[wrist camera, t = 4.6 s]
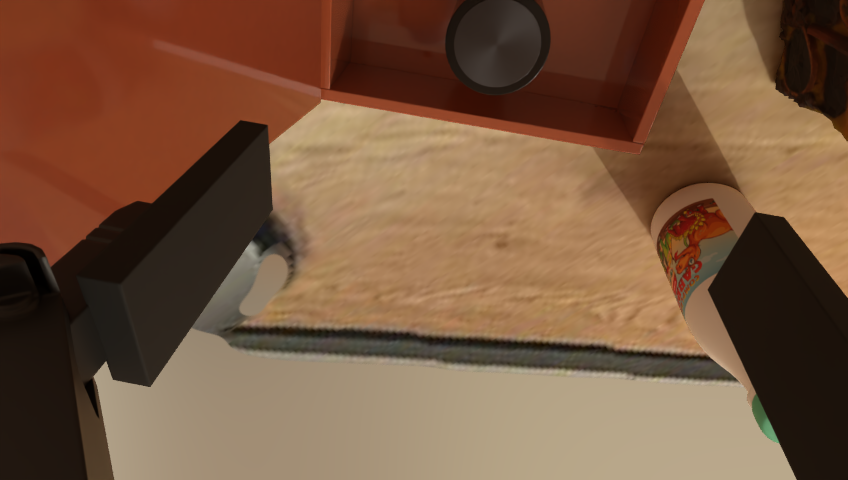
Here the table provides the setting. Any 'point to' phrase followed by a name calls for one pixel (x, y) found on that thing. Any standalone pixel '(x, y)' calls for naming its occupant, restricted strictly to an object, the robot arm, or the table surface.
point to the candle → (816, 58)
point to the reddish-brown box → (540, 99)
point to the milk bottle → (705, 267)
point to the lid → (136, 99)
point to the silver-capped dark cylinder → (497, 43)
